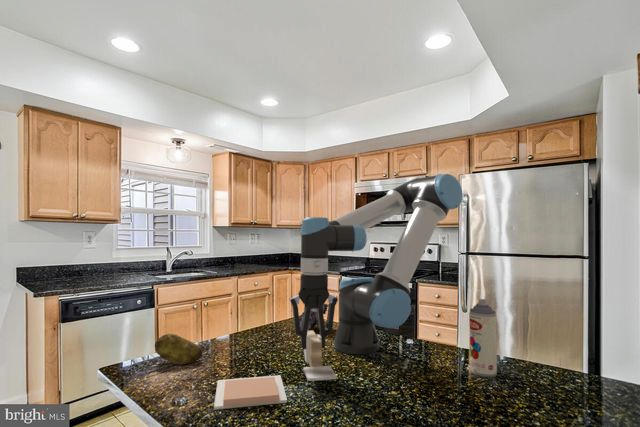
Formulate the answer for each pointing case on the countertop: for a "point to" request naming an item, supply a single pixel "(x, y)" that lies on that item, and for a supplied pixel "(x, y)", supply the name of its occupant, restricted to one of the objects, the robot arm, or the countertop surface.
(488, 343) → the aerosol can
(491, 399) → the countertop surface
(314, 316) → the decorative flower
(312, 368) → the scraper
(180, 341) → the potato
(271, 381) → the tile
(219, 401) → the mat
